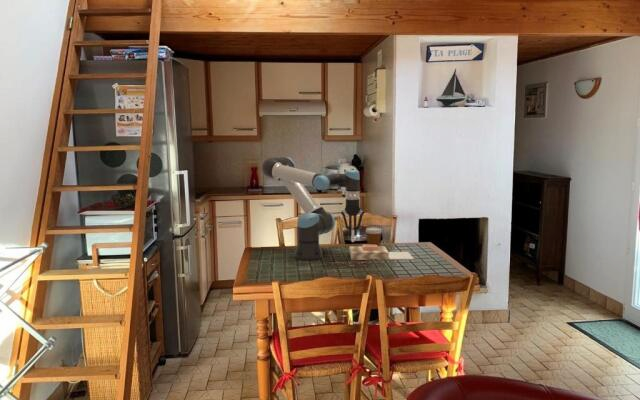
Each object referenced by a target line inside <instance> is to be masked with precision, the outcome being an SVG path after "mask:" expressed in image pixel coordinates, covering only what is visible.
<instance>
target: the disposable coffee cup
mask: <svg viewBox="0 0 640 400" xmlns="http://www.w3.org/2000/svg"><path fill="white" fill-rule="evenodd" d="M365 229H366V230H365V233H366V242H367V245H377V246H380V244H381V237H382V236H381V235H382V232H383V230H382V228H380V227H366V228H365Z"/></svg>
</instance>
